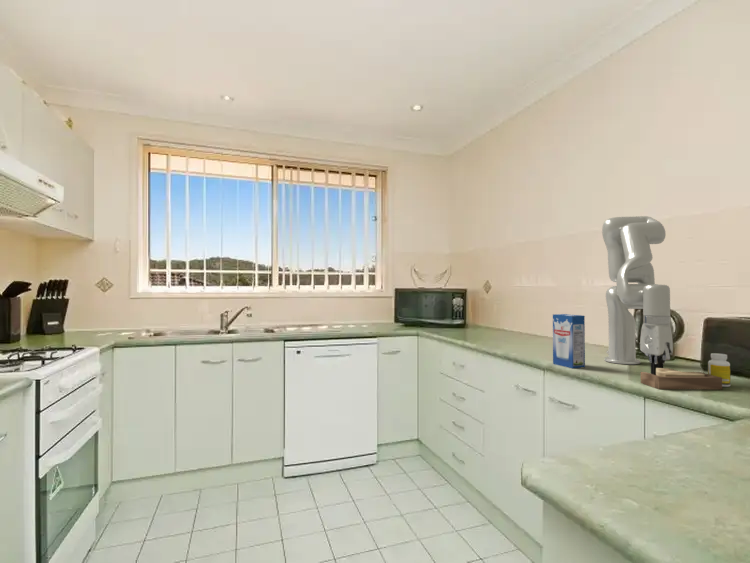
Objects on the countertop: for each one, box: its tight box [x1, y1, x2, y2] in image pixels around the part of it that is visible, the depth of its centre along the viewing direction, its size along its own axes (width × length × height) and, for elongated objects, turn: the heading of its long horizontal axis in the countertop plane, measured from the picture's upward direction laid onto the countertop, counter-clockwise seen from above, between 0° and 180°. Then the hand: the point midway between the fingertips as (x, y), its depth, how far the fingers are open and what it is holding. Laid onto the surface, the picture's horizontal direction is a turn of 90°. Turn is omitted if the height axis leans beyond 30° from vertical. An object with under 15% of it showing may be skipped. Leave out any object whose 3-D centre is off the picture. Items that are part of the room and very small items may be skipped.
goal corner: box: [640, 371, 723, 390], centre depth 126 cm, size 8×19×4 cm, turn 90°
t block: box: [656, 367, 704, 377], centre depth 129 cm, size 10×12×4 cm
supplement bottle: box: [707, 352, 731, 388], centre depth 127 cm, size 5×5×10 cm
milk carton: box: [552, 313, 586, 369], centre depth 159 cm, size 10×6×20 cm, turn 20°
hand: (657, 374), depth 136 cm, fingers closed
